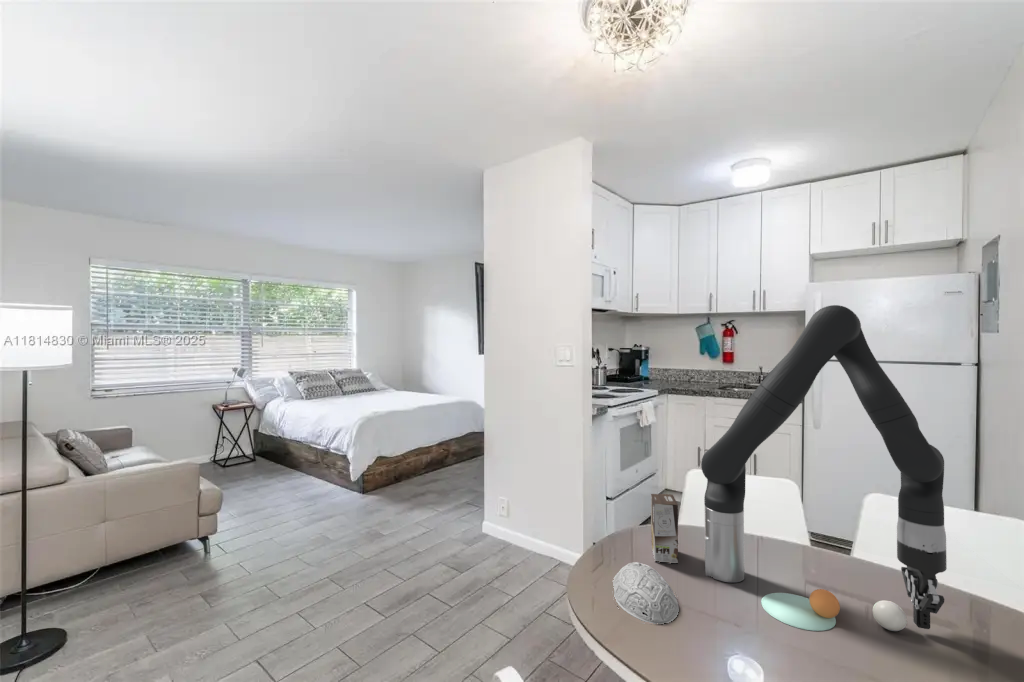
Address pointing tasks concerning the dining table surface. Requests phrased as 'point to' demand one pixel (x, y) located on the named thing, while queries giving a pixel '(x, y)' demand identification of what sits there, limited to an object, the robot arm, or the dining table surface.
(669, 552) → the coffee box
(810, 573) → the dining table surface
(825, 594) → the orange ball
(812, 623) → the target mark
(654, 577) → the grey oval dome
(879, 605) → the cue ball
